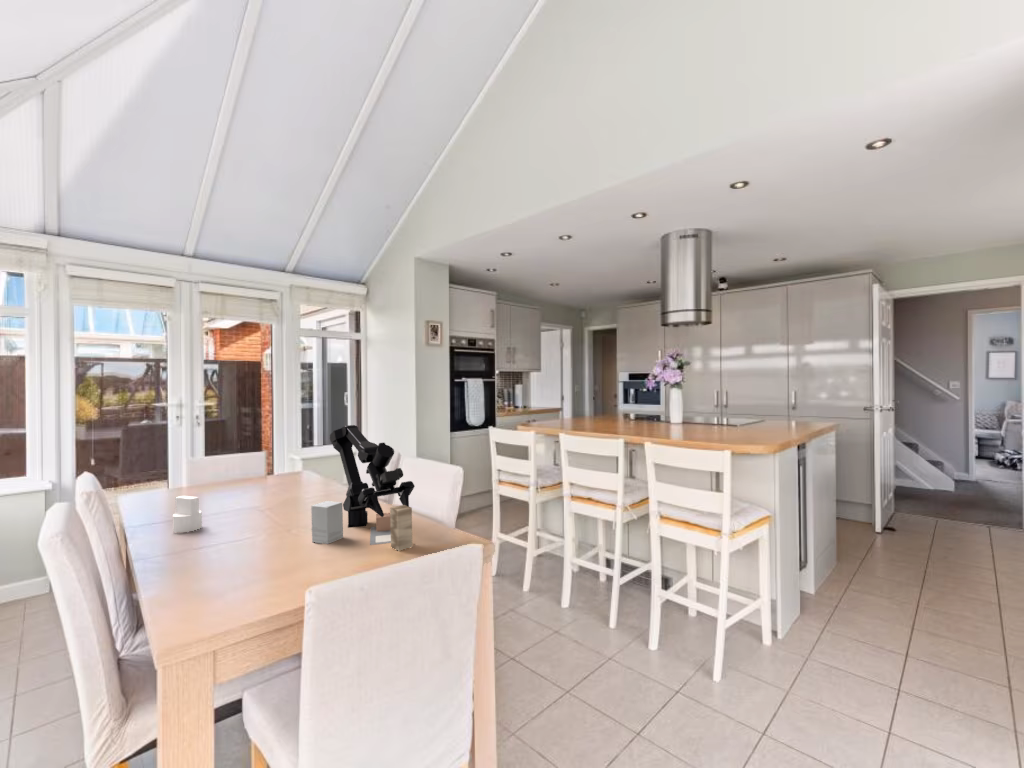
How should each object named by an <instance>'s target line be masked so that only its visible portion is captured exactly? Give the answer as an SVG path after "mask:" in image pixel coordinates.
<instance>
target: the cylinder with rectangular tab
mask: <svg viewBox="0 0 1024 768" xmlns="http://www.w3.org/2000/svg"><path fill="white" fill-rule="evenodd" d="M199 499H200V498H199V496H190V495H179V496H176V497H175V513H173V514H172V532H173V531H174V532H187V533H190V532H189V531H193V532H195V531H194V530H196V531H198V530H197V529H199V530H201V529H202V528H201V527H203V521H202V520H203V519H202V518H203V515H202V514H203V513H202V510H201V509H200V505H199V504H200V503H199V502H200V501H199ZM200 528H201V529H200ZM174 532H173V533H174Z"/></svg>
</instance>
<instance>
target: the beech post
mask: <svg viewBox="0 0 1024 768" xmlns="http://www.w3.org/2000/svg"><path fill="white" fill-rule="evenodd" d="M412 509H413V507H411V506H410V505H409V506H406V505H402V504H401V505H397V506H391V507H389V513H390V522H391V543H390V548H391V547H392V548H391V549H393V548H394V549H393V550H395V549H396V550H395V551H397V550H398V551H397V552H401V551H400V550H402V551H404V550H403V549H405V550H407V549H406V548H409V549H411V548H410V547H412V548H413V515H412V514H413V513H412Z"/></svg>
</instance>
